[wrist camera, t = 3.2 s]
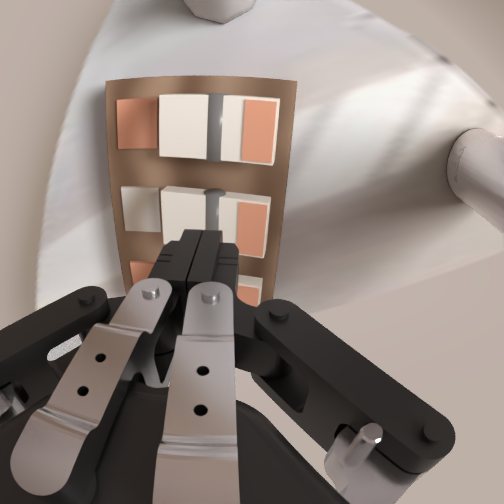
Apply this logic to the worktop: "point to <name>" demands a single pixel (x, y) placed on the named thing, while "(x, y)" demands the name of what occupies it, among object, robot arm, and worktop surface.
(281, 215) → the switch unit
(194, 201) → the rocker
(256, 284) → the rocker
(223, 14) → the flask
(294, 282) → the worktop surface
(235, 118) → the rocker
